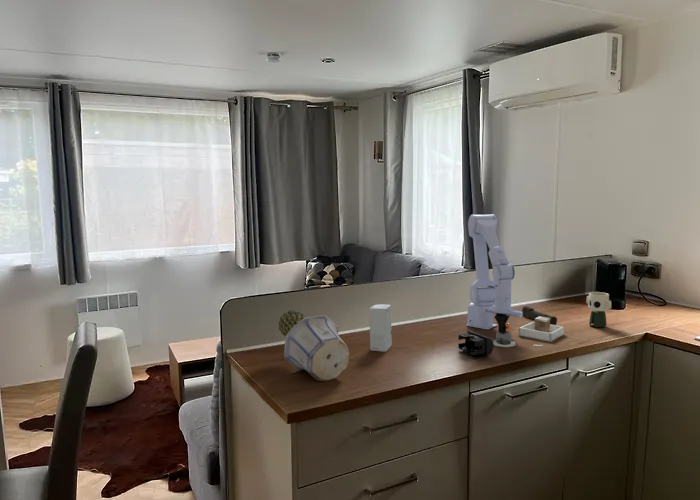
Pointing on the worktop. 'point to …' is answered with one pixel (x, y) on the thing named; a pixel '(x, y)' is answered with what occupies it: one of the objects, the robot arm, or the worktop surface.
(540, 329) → the block
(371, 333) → the skincare box
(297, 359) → the potted plant
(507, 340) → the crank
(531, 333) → the tray
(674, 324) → the worktop surface
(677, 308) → the worktop surface
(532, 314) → the hand tool
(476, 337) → the end cap
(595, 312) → the character mug
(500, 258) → the robot arm
